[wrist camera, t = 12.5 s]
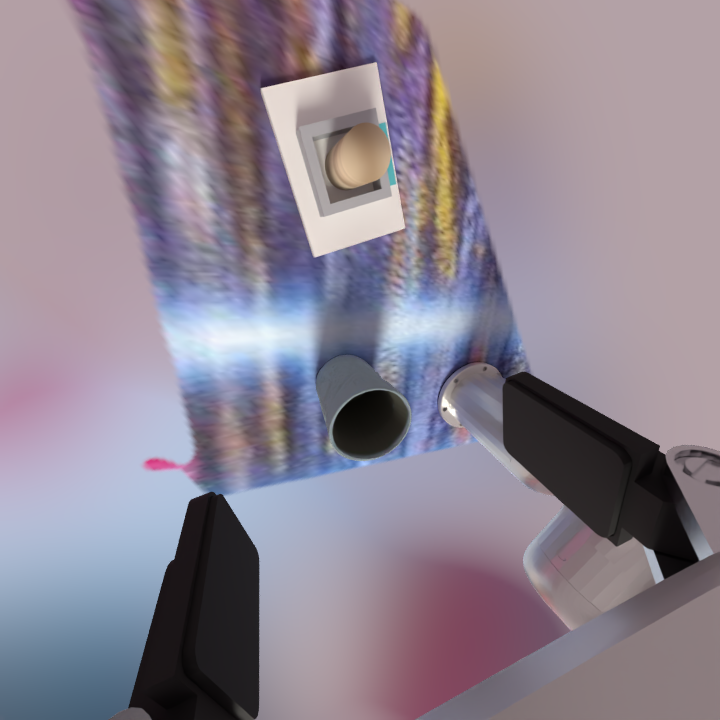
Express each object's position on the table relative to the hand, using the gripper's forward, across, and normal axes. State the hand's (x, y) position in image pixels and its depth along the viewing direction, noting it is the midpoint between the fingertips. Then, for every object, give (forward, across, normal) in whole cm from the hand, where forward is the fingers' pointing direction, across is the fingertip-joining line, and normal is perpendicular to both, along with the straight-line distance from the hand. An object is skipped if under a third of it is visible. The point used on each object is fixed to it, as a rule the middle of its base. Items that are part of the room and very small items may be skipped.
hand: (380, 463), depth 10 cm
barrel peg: (+31, -10, -11) cm, 34 cm away
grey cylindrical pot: (+33, -3, +15) cm, 36 cm away
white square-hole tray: (+32, -9, -11) cm, 35 cm away
